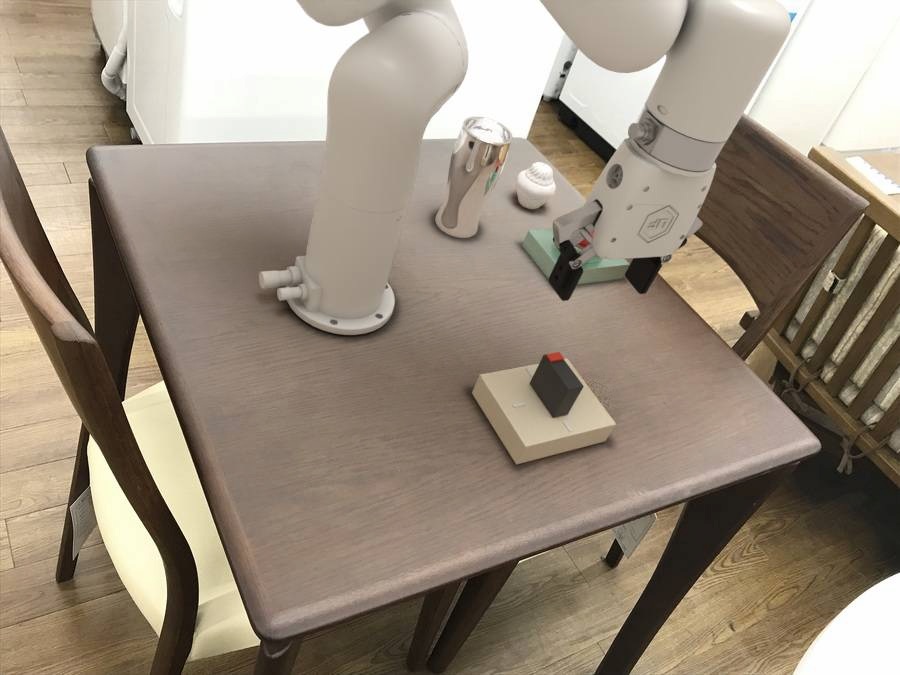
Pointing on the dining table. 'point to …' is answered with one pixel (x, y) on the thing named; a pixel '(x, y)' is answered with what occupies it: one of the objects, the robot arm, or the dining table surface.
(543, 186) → the muffin
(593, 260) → the housing
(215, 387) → the dining table surface
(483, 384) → the dial panel
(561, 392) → the knob
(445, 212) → the beer glass
